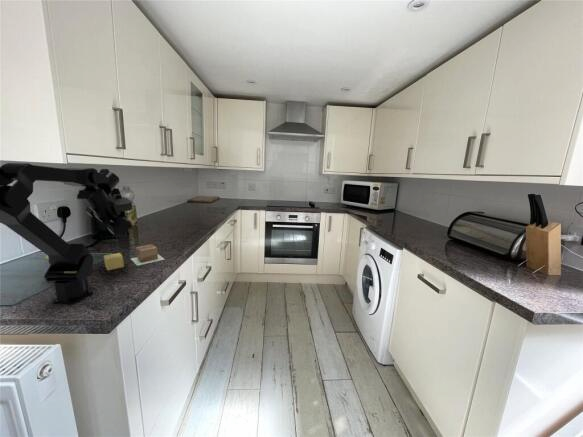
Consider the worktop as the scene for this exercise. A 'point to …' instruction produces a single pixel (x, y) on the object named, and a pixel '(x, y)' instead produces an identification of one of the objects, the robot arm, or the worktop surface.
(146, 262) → the baseplate
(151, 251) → the walnut block
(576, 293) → the worktop surface
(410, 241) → the worktop surface
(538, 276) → the worktop surface
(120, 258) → the mustard cube
